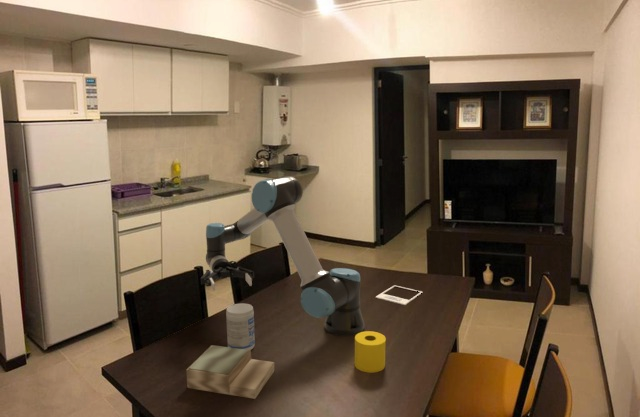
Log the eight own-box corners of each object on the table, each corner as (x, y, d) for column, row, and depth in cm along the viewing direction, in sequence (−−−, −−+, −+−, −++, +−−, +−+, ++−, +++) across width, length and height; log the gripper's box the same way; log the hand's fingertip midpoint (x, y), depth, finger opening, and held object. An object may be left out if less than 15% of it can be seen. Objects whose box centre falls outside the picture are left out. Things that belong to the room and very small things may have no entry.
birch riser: (274, 370, 154) (274, 352, 153) (255, 398, 139) (254, 379, 138) (212, 361, 160) (211, 344, 159) (187, 387, 145) (186, 368, 144)
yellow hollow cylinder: (354, 356, 163) (354, 331, 161) (383, 357, 163) (384, 331, 161) (355, 372, 154) (355, 345, 152) (386, 372, 153) (387, 345, 151)
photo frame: (375, 296, 215) (394, 284, 229) (375, 298, 215) (394, 287, 229) (405, 303, 207) (422, 291, 221) (405, 306, 207) (422, 293, 221)
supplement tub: (256, 352, 167) (254, 312, 164) (228, 355, 164) (226, 315, 162) (253, 339, 176) (252, 301, 173) (227, 342, 174) (225, 304, 171)
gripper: (251, 272, 200) (265, 289, 181) (189, 279, 190) (198, 299, 171) (250, 254, 198) (265, 270, 179) (188, 261, 189) (197, 279, 170)
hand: (232, 284), depth 175 cm, fingers open, 13 cm apart
